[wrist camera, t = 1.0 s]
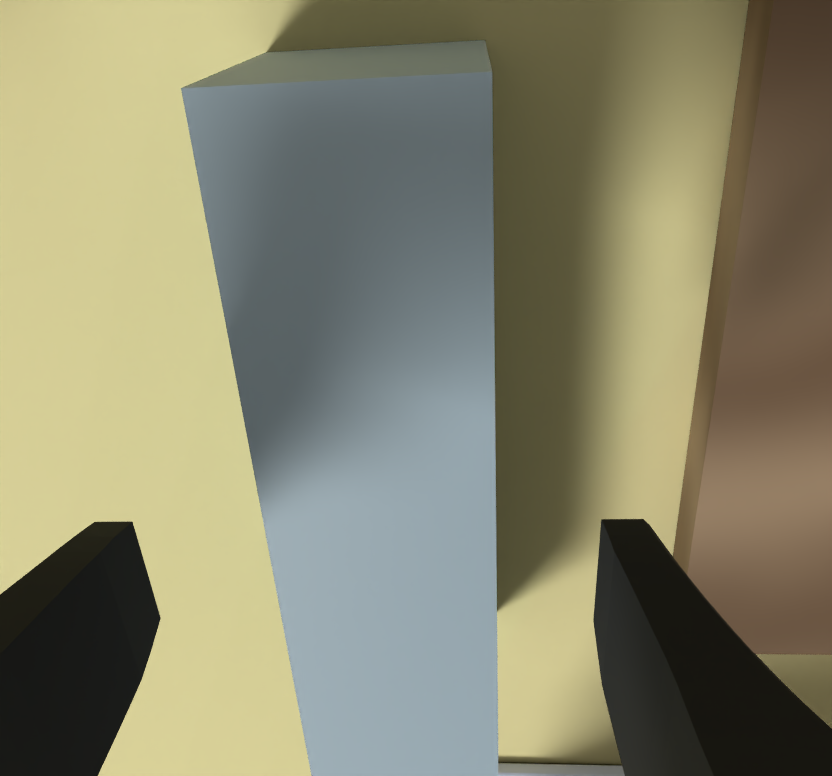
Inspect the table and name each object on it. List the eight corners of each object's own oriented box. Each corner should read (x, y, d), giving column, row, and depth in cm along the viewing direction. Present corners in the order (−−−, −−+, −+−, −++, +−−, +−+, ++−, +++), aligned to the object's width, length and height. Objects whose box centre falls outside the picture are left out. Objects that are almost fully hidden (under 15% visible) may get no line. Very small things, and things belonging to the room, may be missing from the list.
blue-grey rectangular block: (491, 609, 21) (498, 781, 16) (344, 608, 21) (311, 777, 17) (484, 38, 14) (492, 71, 10) (269, 50, 14) (180, 88, 10)
